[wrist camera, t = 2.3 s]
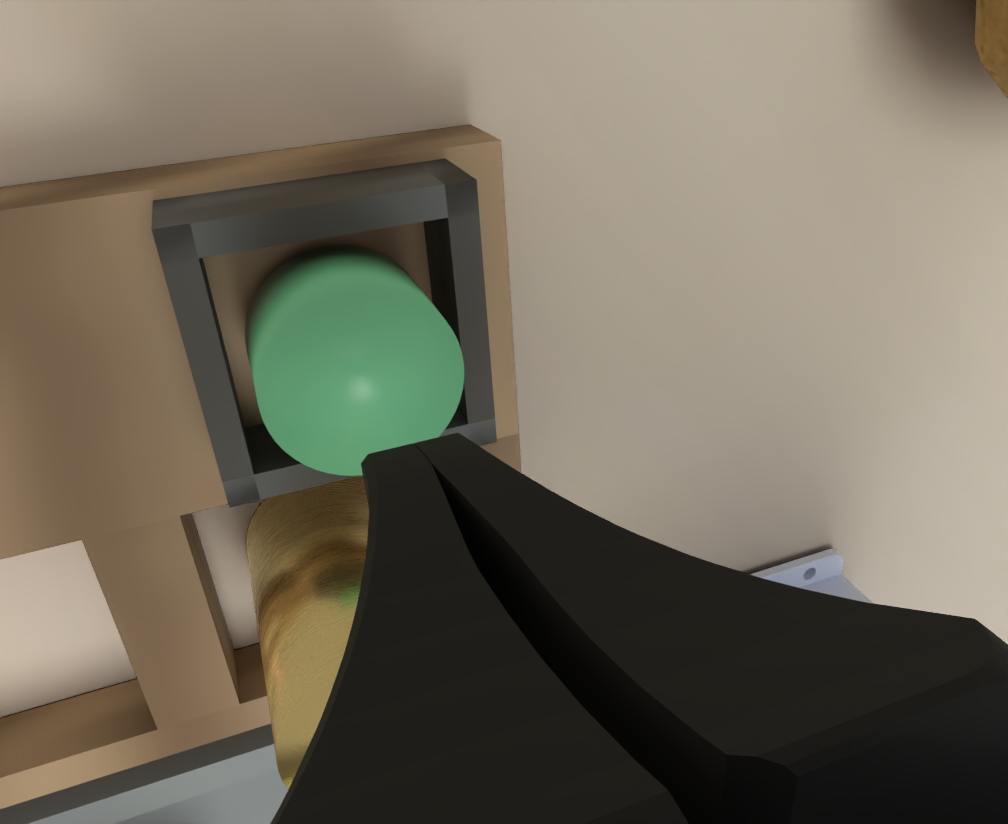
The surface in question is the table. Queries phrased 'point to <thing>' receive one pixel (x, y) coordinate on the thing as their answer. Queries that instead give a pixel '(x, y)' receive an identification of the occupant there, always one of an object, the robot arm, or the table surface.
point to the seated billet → (305, 602)
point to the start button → (350, 358)
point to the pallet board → (202, 397)
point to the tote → (173, 789)
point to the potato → (993, 39)
